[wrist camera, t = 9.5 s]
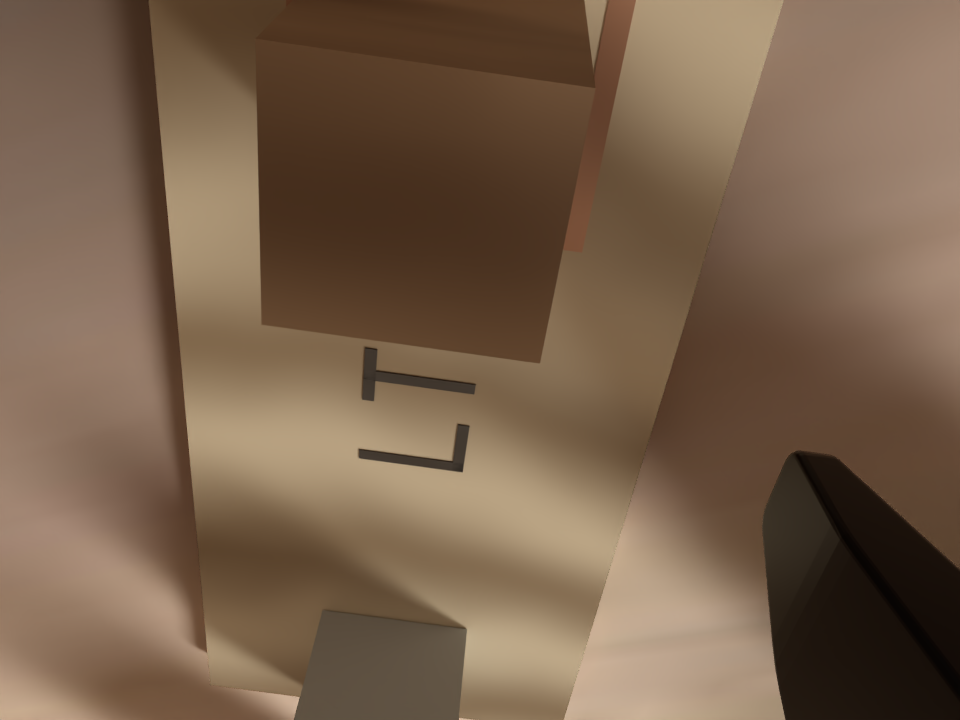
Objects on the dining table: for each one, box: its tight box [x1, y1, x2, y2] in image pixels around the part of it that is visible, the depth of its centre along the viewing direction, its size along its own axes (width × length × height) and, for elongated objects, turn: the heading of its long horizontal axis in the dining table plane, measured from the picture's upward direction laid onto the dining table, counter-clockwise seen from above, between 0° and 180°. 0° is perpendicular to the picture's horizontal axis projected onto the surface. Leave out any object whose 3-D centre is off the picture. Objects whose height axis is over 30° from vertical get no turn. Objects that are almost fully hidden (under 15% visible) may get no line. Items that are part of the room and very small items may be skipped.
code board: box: [149, 0, 784, 720], centre depth 23 cm, size 27×12×1 cm, turn 173°
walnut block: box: [255, 0, 596, 364], centre depth 15 cm, size 4×4×6 cm
